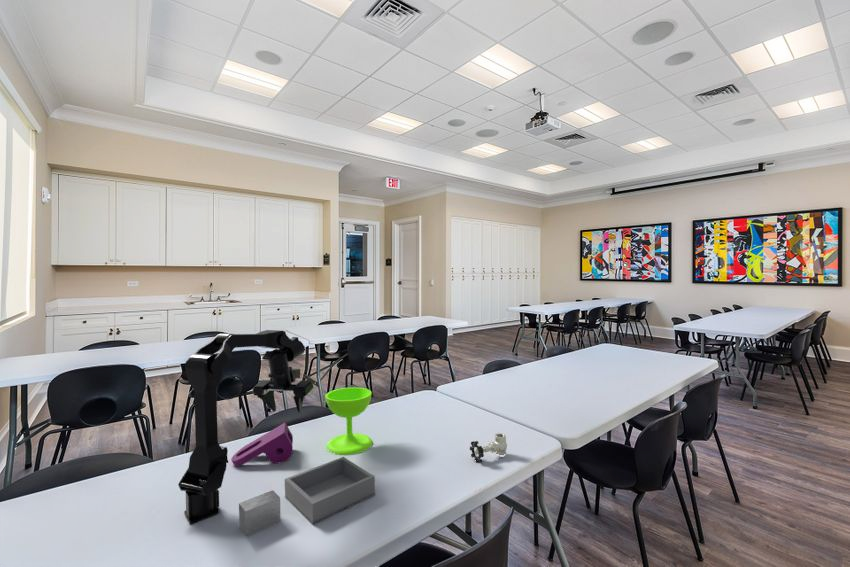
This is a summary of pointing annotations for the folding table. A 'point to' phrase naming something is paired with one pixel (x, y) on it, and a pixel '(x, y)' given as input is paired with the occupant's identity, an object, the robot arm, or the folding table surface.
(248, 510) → the grey bevelled block
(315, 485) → the open box
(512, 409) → the folding table surface
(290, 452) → the mounting bracket
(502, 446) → the valve
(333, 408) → the wineglass
